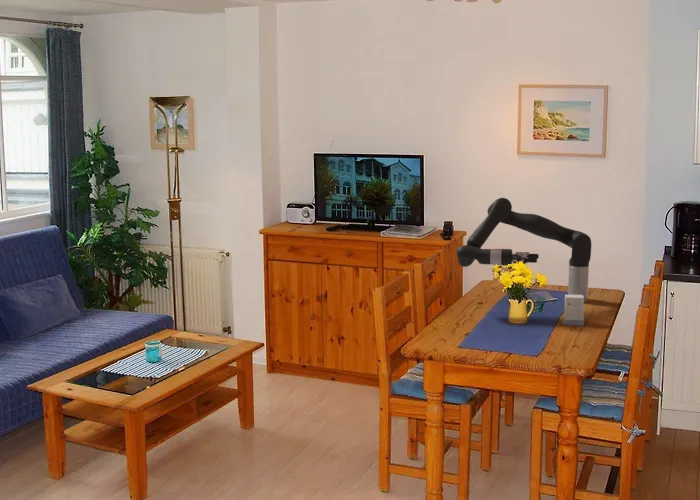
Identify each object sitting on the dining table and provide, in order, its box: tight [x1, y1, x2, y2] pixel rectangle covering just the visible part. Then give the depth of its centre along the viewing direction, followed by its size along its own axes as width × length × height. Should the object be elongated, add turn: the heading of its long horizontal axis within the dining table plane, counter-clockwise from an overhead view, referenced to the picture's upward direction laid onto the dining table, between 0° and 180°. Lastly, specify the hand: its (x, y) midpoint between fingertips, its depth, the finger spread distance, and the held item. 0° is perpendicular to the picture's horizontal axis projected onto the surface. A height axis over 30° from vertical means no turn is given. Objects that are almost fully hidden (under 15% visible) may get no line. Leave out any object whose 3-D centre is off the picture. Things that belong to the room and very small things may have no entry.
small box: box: [563, 293, 585, 321], centre depth 378 cm, size 8×6×10 cm
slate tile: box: [561, 315, 586, 327], centre depth 379 cm, size 14×9×1 cm, turn 163°
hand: (537, 258), depth 385 cm, fingers open, 8 cm apart
